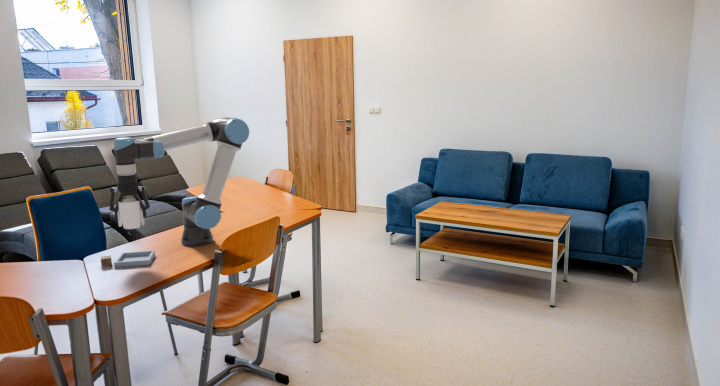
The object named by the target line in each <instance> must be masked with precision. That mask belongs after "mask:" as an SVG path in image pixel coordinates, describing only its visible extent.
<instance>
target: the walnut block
mask: <svg viewBox="0 0 720 386" xmlns="http://www.w3.org/2000/svg"><path fill="white" fill-rule="evenodd" d="M112 263H113V261H112V255H105V256H104V255H103V256H100V266H101V269H107V268H112V267H113V264H112ZM106 267H107V268H106Z"/></svg>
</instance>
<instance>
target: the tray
mask: <svg viewBox="0 0 720 386" xmlns="http://www.w3.org/2000/svg"><path fill="white" fill-rule="evenodd" d="M155 257H156V251H155V249H154V250H143V251H129V252H128V251H127V252H121V253H120V254H119V256H118V257H116V259H115V261H114V262H113V268H114V269H122V268H123V269H124V268H125V269H126V268H133V267H134V268H135V267H136V268H137V267H148V266H150V265H151V264H152V262H153V260H154V259H155Z"/></svg>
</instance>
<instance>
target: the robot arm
mask: <svg viewBox="0 0 720 386" xmlns="http://www.w3.org/2000/svg"><path fill="white" fill-rule="evenodd" d="M249 137H250V127H249V126H248V124H247V122H246V121H244V120H243V119H241V118H238V117H226V116H225V117H221V118H218V119H214V120H211V121H207V122H205V123H203V125H200V126H194V127H190V128H186V129H185V128H184V129H181V130H177V131H171V132H168V133H167V132H166V133H164V134H163V133H162V134H159V135H153V136H150V137H145V138H137V139H135V140H134V139H133V138H132V137H117V138H115V139H114V140H113V143H114V144H113V149H114V158H115V167H116V174H117V178H116V179H117V187H116V186H115V187H114V186H113V187H111V188H110V193H111V194H110V202H109V203H110V204H109V211H112V212H114V218H115V219H116V220H117V223H118V227H119V228H120V227H123V223H122V220H121V216H120V212H119V206H118V202H122V200H123V199H125V197H127V196H132V197H133V198H135V199H136V201H139V203H140V207H141V211H140V213H141V223H140V224H141V226H144V225H145V224H146V223H145V218H147V210H148V209H150V208H151V204H150V201H149V198H148V195H147V192H146V190H147V189H146V185H143V186H142V185H141V186H140V185H139V184H138V177H137V175H138V174H136V173H137V167H136V166H137V165H136V160H145V159H146V160H147V159H158V158H163V157H164V156H165V151H168V150H173V149H177V148H182V147H187V146H190V145H195V144H199V143H203V142H210V143H212V142H215V143H217V149H216V152H215V155H214V158H213V161H212V164H211V166H210V170H209V173H208V175H207V178H206V182H205V184H204V187H203V190H202V193H201V194H199V195H197V196H188V197H184V198H182V200H181V207H182V215H183V216H182V218H183V219H182V220H183V231H182V234H181V239H180V240H181V245H183V246H186V247H198V246H200V247H201V246H204V245H208V243H209V244H211V243H213V242H214V236H213V233H212V231H211V229H213V228H215V227H216V226H217V225H219V223H220V222H221V219H222V212H221V208H222V204H223V202H222V201H221V196H222V194H223V193H224V192H223V191H224V188H225V185H226V183H227V180H228V177H229V173H230V171H231V167H232V165H233V161H234V159H235V156H236V153H237V152H238V151H241V148H242V146H243V143H245V142H246V141H247V140H248V139H249ZM138 190H139V192H141V196H142V199H143V201H142V199H141V197H140V196H139V194H138V192H137V191H138ZM118 191H119V193H120V194H119V197H118V201H117V202H116V194H117V192H118ZM115 202H116V205H115ZM210 242H211V243H210Z"/></svg>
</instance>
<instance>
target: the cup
mask: <svg viewBox="0 0 720 386" xmlns="http://www.w3.org/2000/svg"><path fill="white" fill-rule="evenodd" d="M117 202H118V201H117ZM118 206H119V210H118V211H119V212H120V216H121V220H122V227H123V229H124V230H134V229H138V228H140V227H141V224H142V223H141V213H140V211H141V210H142V209H141V207H140V203H139V201H136V199H135V198H134V197H133V198H123V200H122V202H118Z"/></svg>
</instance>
